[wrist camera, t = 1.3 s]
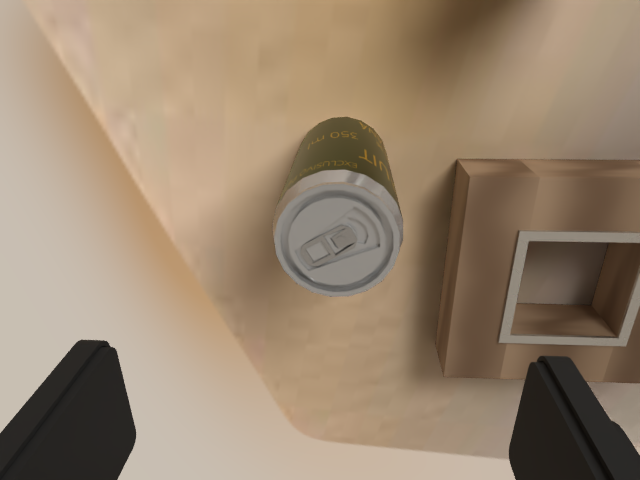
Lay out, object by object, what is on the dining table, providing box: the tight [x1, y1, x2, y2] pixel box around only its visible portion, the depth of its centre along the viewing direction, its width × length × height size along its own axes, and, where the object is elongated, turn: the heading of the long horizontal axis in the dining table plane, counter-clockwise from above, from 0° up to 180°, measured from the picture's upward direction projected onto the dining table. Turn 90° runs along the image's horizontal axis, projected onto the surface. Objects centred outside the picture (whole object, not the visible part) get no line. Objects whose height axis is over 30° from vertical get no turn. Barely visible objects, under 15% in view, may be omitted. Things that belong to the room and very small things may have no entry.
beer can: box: [272, 117, 403, 297], centre depth 24 cm, size 5×5×12 cm
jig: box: [435, 159, 640, 383], centre depth 30 cm, size 14×14×4 cm
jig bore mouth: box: [498, 230, 640, 346], centre depth 28 cm, size 8×8×1 cm
